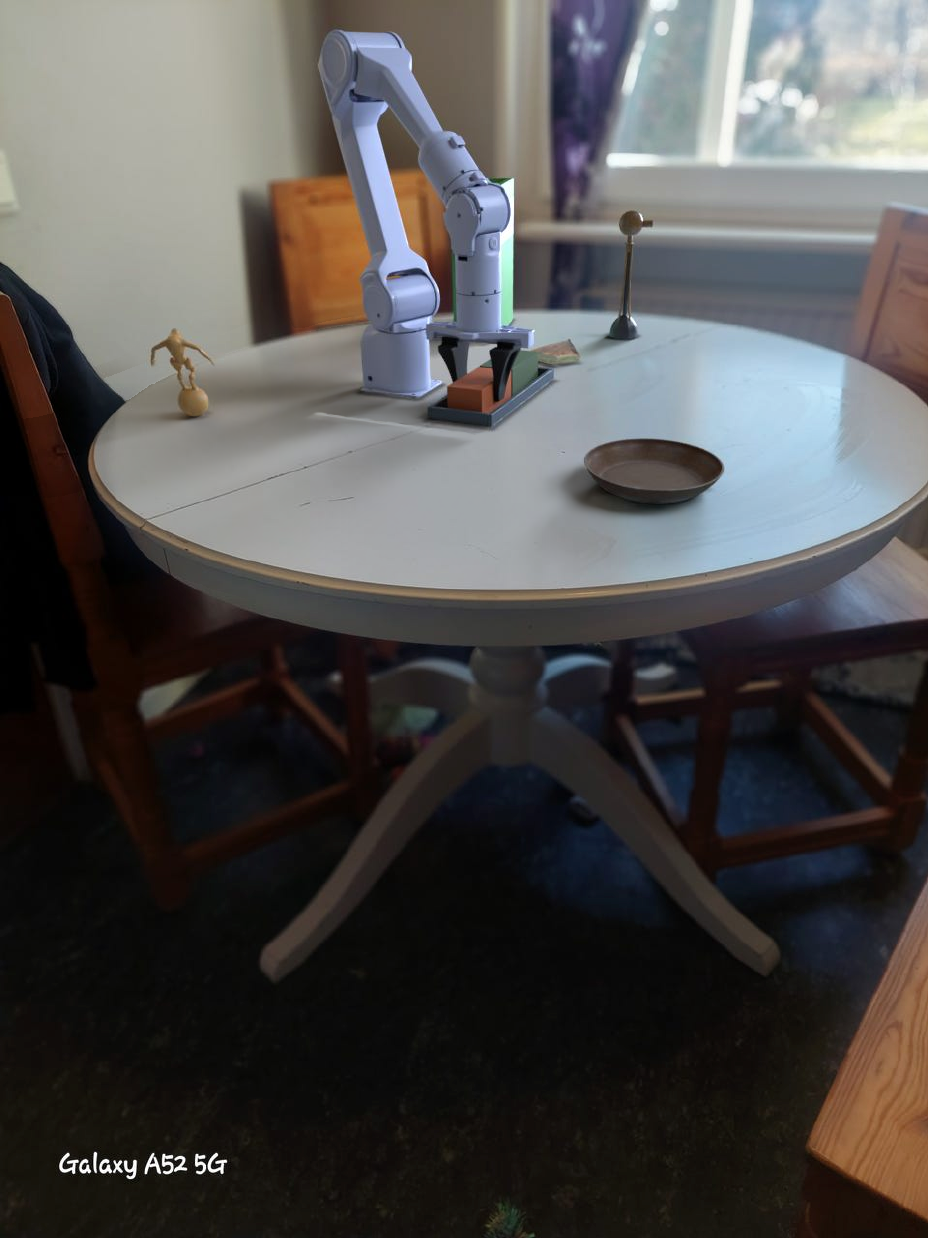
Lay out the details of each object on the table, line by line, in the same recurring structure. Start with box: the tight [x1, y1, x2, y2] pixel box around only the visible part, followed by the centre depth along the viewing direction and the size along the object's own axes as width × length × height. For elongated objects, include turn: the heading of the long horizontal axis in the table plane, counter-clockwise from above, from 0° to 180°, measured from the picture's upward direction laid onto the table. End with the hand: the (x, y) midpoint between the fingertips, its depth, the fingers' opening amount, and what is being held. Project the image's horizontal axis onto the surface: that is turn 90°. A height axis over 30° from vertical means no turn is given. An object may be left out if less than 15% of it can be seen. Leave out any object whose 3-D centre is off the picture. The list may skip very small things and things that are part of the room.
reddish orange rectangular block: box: [446, 366, 511, 413], centre depth 117 cm, size 5×10×4 cm, turn 155°
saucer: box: [583, 437, 726, 505], centre depth 94 cm, size 15×15×3 cm
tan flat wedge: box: [530, 338, 581, 366], centre depth 140 cm, size 11×8×2 cm
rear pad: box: [478, 349, 539, 397], centre depth 125 cm, size 5×10×4 cm, turn 155°
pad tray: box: [426, 366, 555, 428], centre depth 122 cm, size 9×23×2 cm, turn 155°
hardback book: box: [451, 177, 515, 326], centre depth 152 cm, size 18×7×24 cm, turn 168°
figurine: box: [150, 328, 215, 417], centre depth 115 cm, size 8×6×12 cm
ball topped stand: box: [608, 209, 654, 340], centre depth 147 cm, size 6×5×20 cm
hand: (479, 397), depth 117 cm, fingers closed on reddish orange rectangular block, 5 cm apart
